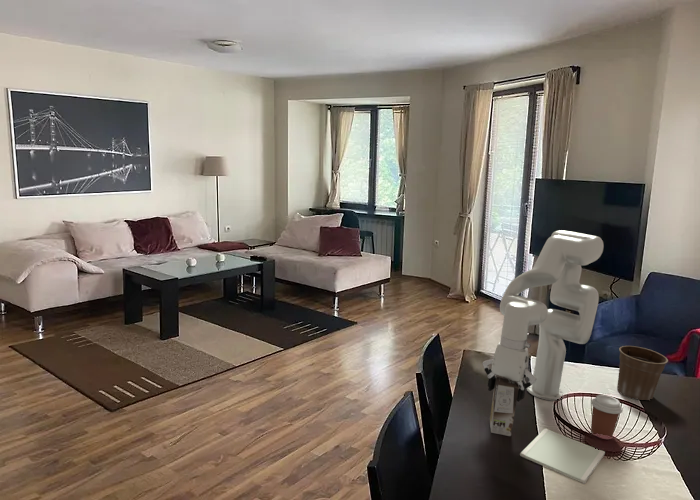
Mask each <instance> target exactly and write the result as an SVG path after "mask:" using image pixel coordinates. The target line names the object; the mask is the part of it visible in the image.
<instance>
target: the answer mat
mask: <svg viewBox="0 0 700 500" xmlns="http://www.w3.org/2000/svg"><path fill="white" fill-rule="evenodd" d="M595 448H596V447H593V446H592V445H591V446H590V445H588V444H585V443H582V442H580V441H578V440H575V439H573V438H570V437H567V436H565V435H562V434H561V433H558V432H555V431H552V430H550V429H547V428H546V427H545V428H544V429H543V430H542V431H541V432H540V433H538V434H537V436H536V437H535V438H534V439H533V440H532V441H531V442H530V443H529V444H528V445H527V446H526V447H525V448H524V449H523V450H522V451H521V452H520V453H519V455H520V457H522V458H523V459H526V460H529V461H532V462H533V463H536V464H538V465H541V466H543V467H545V468H547V469H550V470H552V471H555V472H556V473H560V474H561V475H564V476H566V477H568V478H570V479H573V480H576V481H578V482H579V483H582V484H586V482H587V481H588V480H589V478H590V477H591V476H592V474H593V473H594V471H595V469H596V468H597V467H598V465H599V464H600V462H601V460H603V457H604V456H605V454H606V451H604V450H602V449H599V450H598V448H596V449H595Z"/></svg>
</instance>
